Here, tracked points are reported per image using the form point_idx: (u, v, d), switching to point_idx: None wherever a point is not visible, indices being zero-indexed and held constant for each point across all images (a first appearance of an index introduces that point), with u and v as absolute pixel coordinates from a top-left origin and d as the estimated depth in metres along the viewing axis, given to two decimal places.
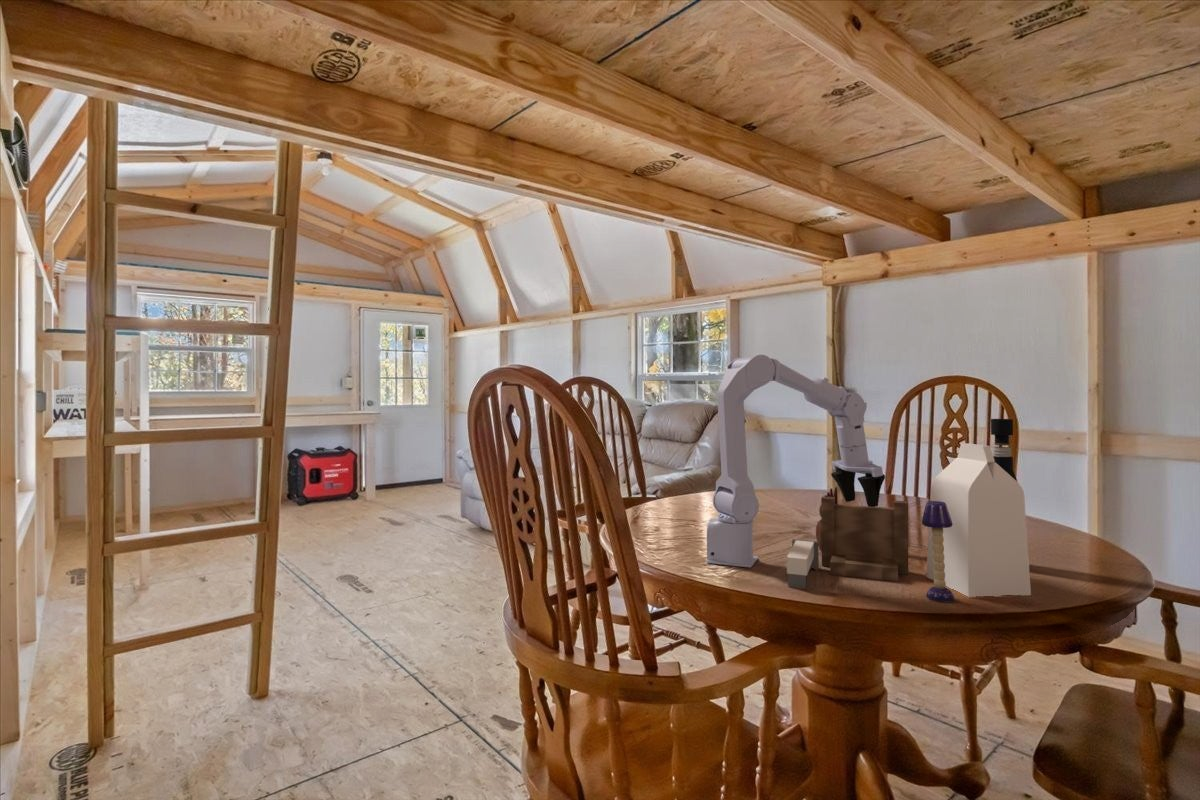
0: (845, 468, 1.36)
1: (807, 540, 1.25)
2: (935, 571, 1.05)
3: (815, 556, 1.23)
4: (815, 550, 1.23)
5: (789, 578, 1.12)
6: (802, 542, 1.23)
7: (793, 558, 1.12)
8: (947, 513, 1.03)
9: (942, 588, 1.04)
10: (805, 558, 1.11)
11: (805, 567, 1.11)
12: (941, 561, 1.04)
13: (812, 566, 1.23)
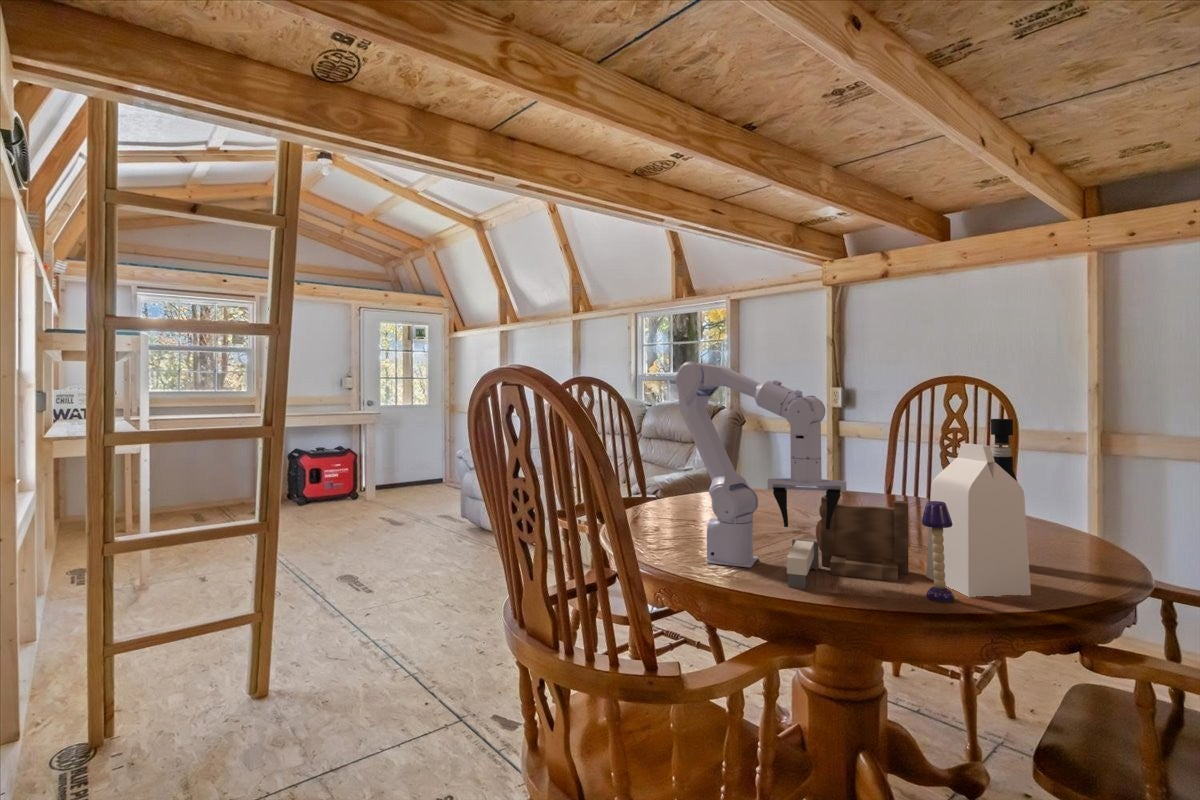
0: None
1: (807, 540, 1.25)
2: (935, 571, 1.05)
3: (815, 556, 1.23)
4: (815, 550, 1.23)
5: (789, 578, 1.12)
6: (802, 542, 1.23)
7: (793, 558, 1.12)
8: (947, 513, 1.03)
9: (942, 588, 1.04)
10: (805, 558, 1.11)
11: (805, 567, 1.11)
12: (941, 561, 1.04)
13: (812, 566, 1.23)
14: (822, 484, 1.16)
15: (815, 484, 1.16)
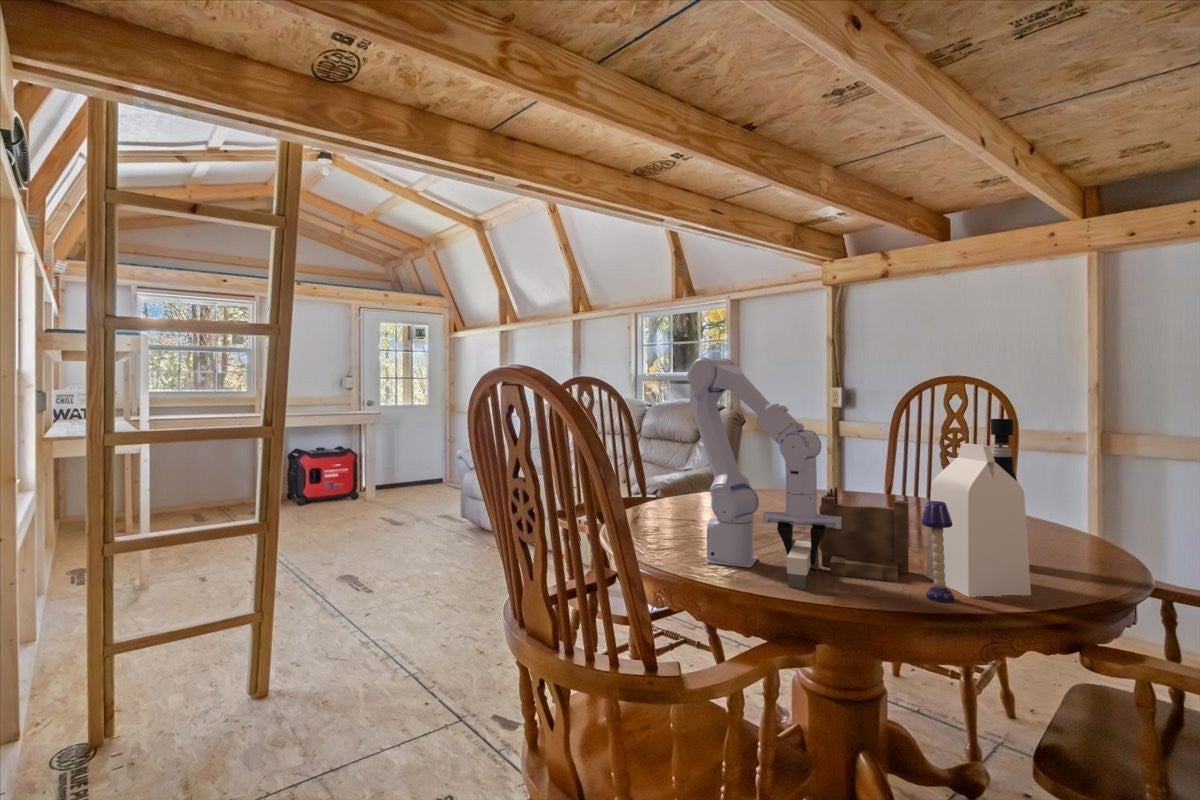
0: None
1: (807, 540, 1.25)
2: (935, 571, 1.05)
3: None
4: None
5: (789, 578, 1.12)
6: (802, 542, 1.23)
7: (793, 558, 1.12)
8: (947, 513, 1.03)
9: (942, 588, 1.04)
10: (805, 558, 1.11)
11: (805, 567, 1.11)
12: (941, 561, 1.04)
13: (812, 566, 1.23)
14: (816, 520, 1.15)
15: (809, 520, 1.15)
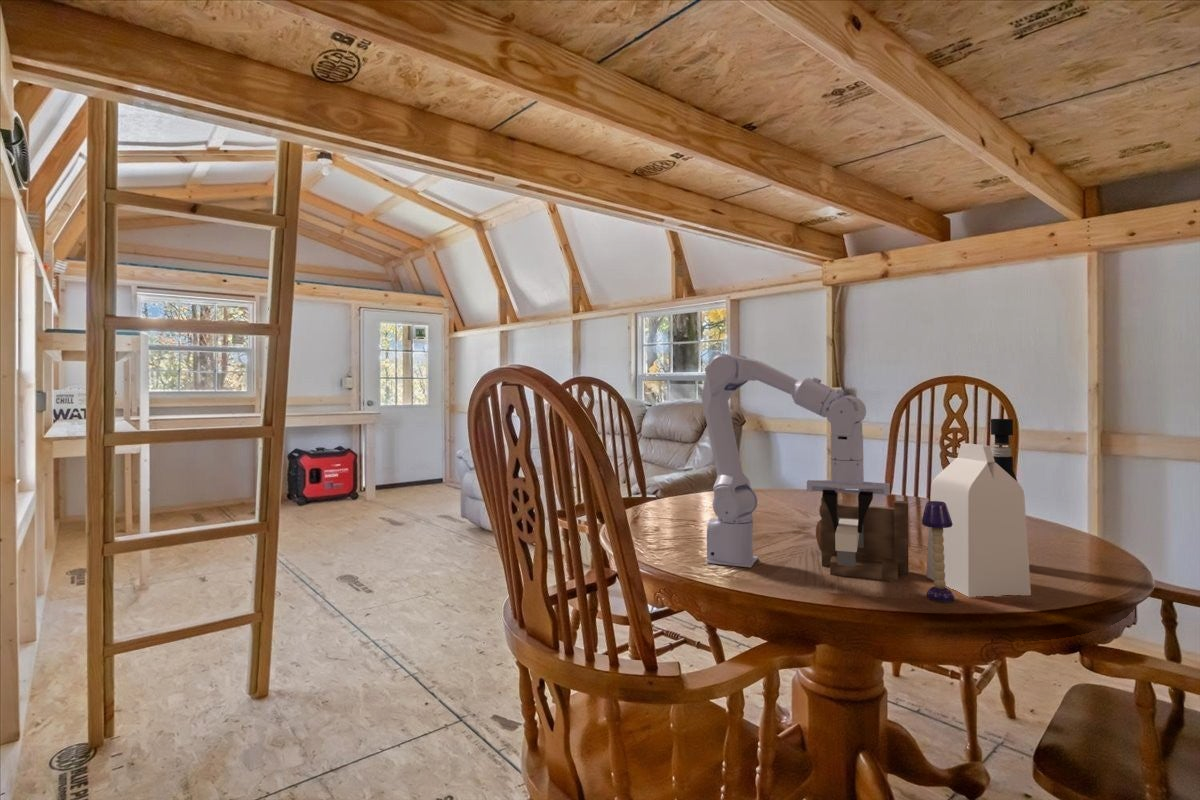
0: None
1: (851, 518, 1.21)
2: (935, 571, 1.05)
3: (860, 534, 1.19)
4: None
5: (838, 555, 1.08)
6: (847, 520, 1.19)
7: (842, 534, 1.08)
8: (947, 513, 1.03)
9: (942, 588, 1.04)
10: (854, 534, 1.07)
11: (855, 543, 1.07)
12: (941, 561, 1.04)
13: (857, 545, 1.20)
14: (864, 487, 1.12)
15: (856, 486, 1.12)
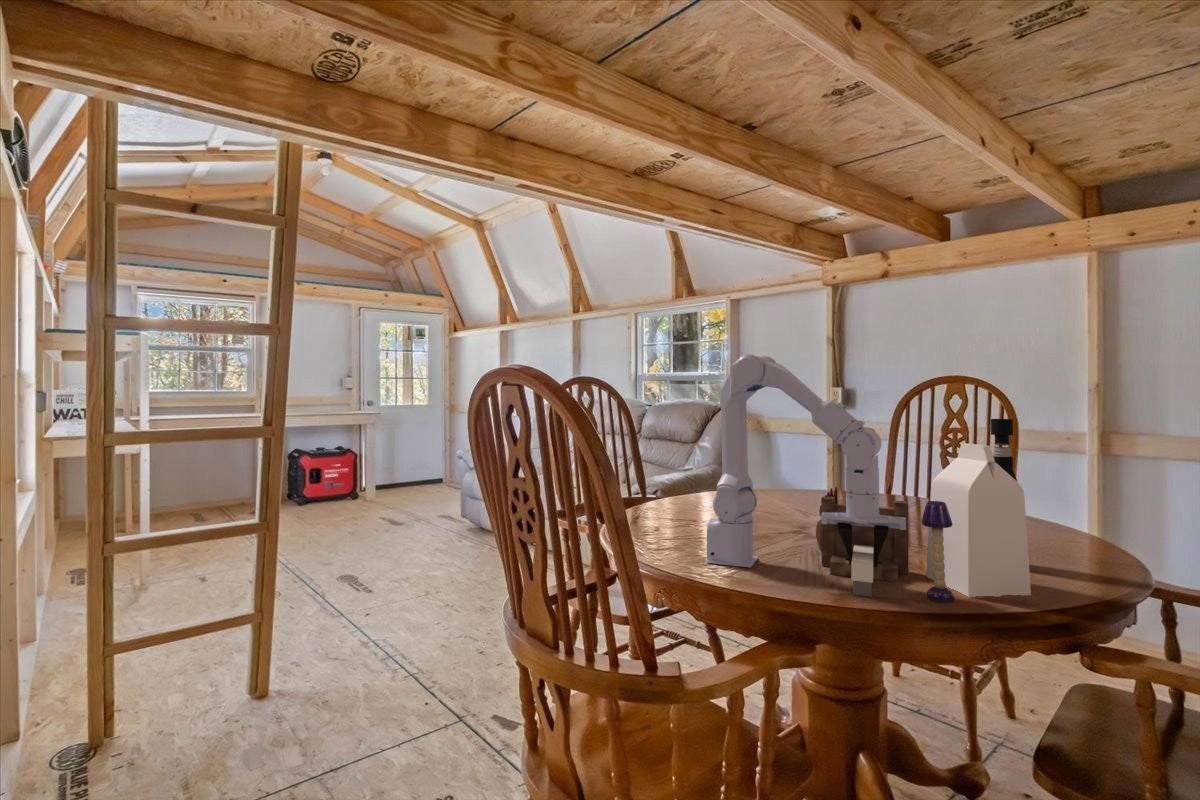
0: None
1: (866, 545, 1.20)
2: (935, 571, 1.05)
3: None
4: None
5: (854, 585, 1.07)
6: (861, 547, 1.18)
7: (858, 564, 1.07)
8: (947, 513, 1.03)
9: (942, 588, 1.04)
10: (871, 564, 1.06)
11: (871, 574, 1.06)
12: (941, 561, 1.04)
13: None
14: (879, 521, 1.11)
15: (872, 521, 1.11)
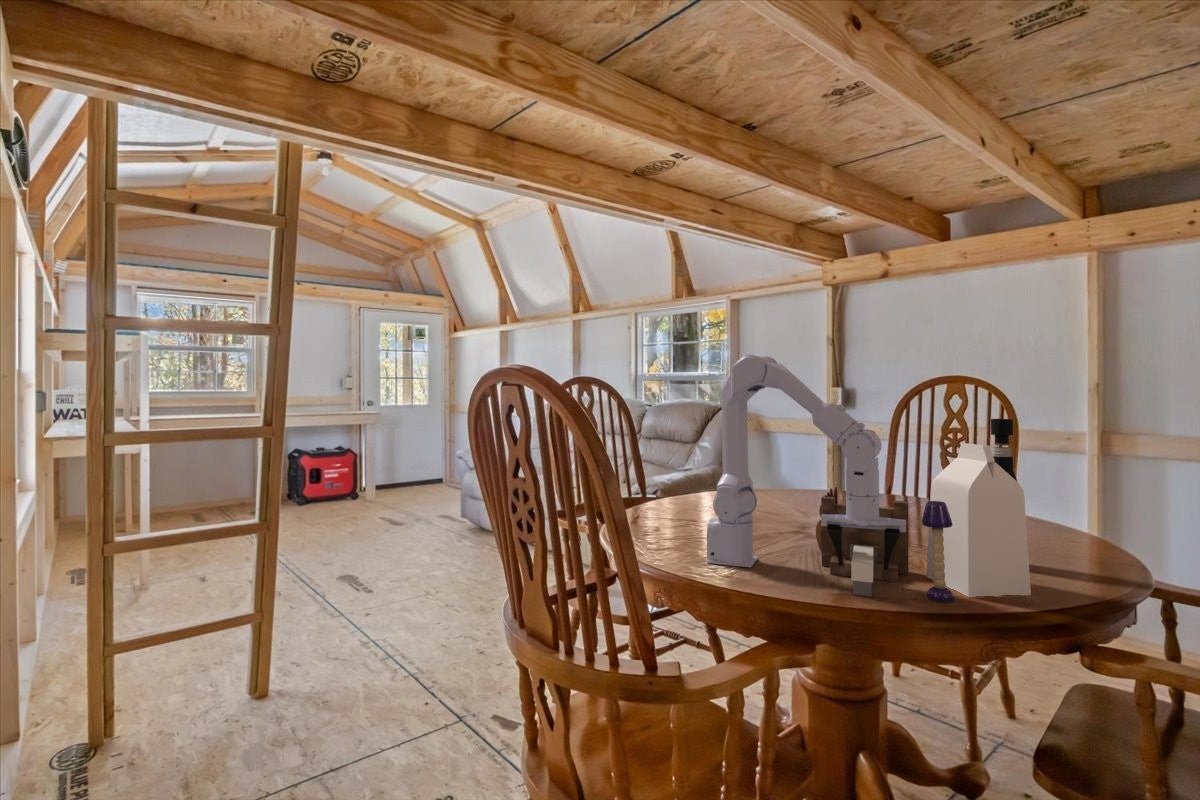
0: None
1: (866, 545, 1.20)
2: (935, 571, 1.05)
3: (875, 562, 1.19)
4: (875, 555, 1.18)
5: (854, 585, 1.07)
6: (861, 547, 1.18)
7: (858, 564, 1.07)
8: (947, 513, 1.03)
9: (942, 588, 1.04)
10: (871, 564, 1.06)
11: (871, 574, 1.06)
12: (941, 561, 1.04)
13: None
14: (879, 523, 1.11)
15: (872, 523, 1.11)
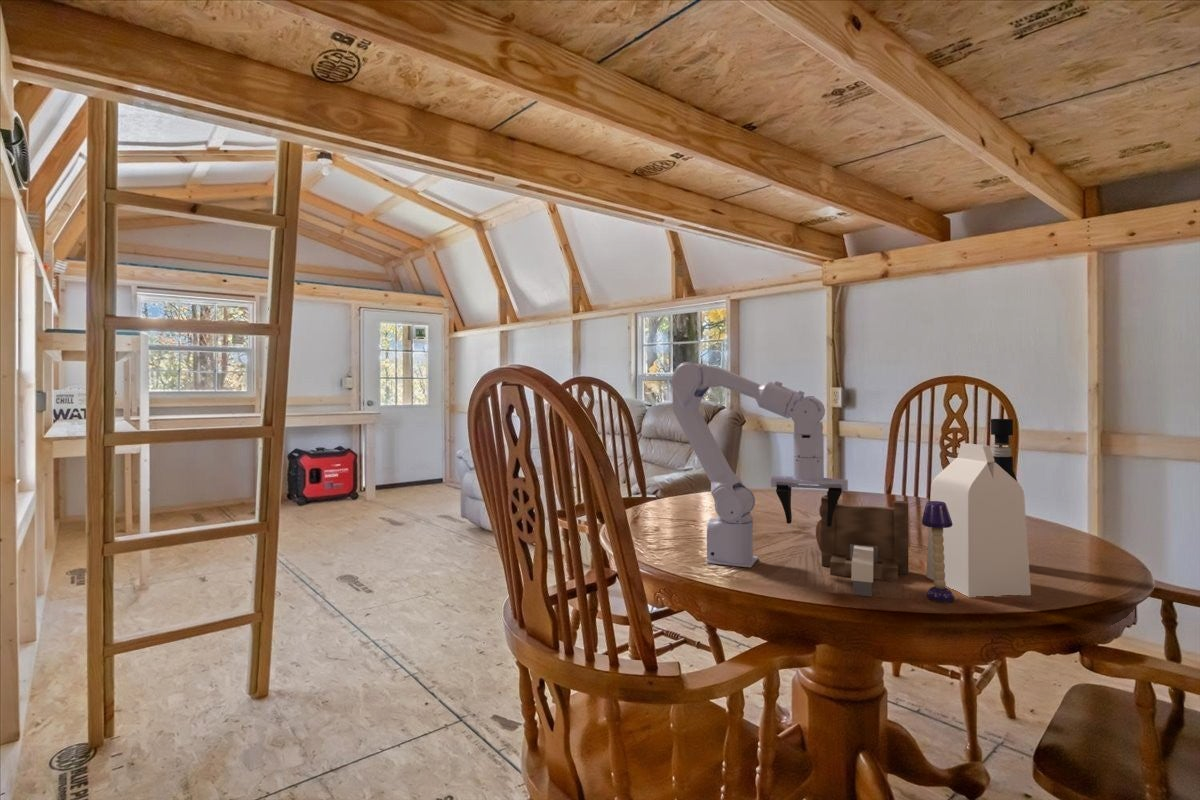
0: None
1: (866, 545, 1.20)
2: (935, 571, 1.05)
3: (875, 562, 1.19)
4: (875, 555, 1.18)
5: (854, 585, 1.07)
6: (861, 547, 1.18)
7: (858, 564, 1.07)
8: (947, 513, 1.03)
9: (942, 588, 1.04)
10: (871, 564, 1.06)
11: (871, 574, 1.06)
12: (941, 561, 1.04)
13: None
14: (823, 482, 1.19)
15: (816, 482, 1.19)
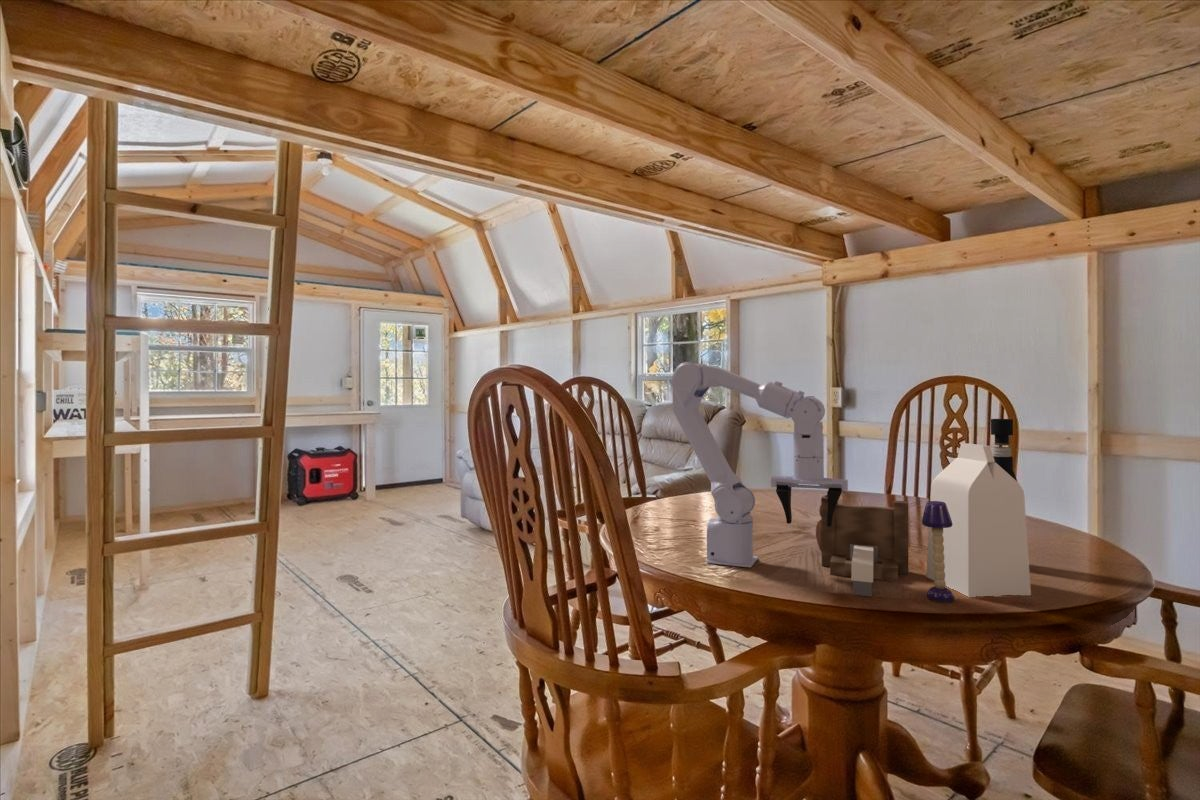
0: None
1: (866, 545, 1.20)
2: (935, 571, 1.05)
3: (875, 562, 1.19)
4: (875, 555, 1.18)
5: (854, 585, 1.07)
6: (861, 547, 1.18)
7: (858, 564, 1.07)
8: (947, 513, 1.03)
9: (942, 588, 1.04)
10: (871, 564, 1.06)
11: (871, 574, 1.06)
12: (941, 561, 1.04)
13: None
14: (823, 482, 1.19)
15: (816, 482, 1.19)
